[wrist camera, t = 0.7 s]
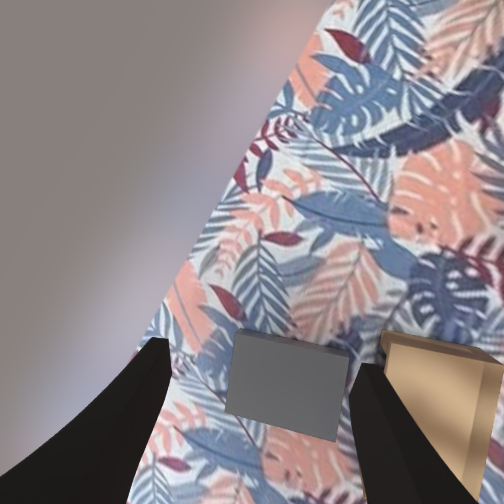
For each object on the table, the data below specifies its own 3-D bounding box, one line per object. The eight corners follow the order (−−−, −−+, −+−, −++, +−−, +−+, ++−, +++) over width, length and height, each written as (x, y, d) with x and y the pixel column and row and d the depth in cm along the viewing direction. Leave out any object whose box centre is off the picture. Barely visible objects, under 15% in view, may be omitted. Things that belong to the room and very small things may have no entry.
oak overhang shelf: (451, 491, 32) (471, 531, 27) (359, 465, 34) (364, 498, 29) (478, 347, 31) (504, 365, 26) (382, 329, 33) (391, 342, 28)
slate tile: (334, 428, 35) (335, 442, 32) (230, 401, 37) (224, 412, 35) (347, 349, 34) (349, 357, 32) (241, 327, 37) (235, 333, 34)
